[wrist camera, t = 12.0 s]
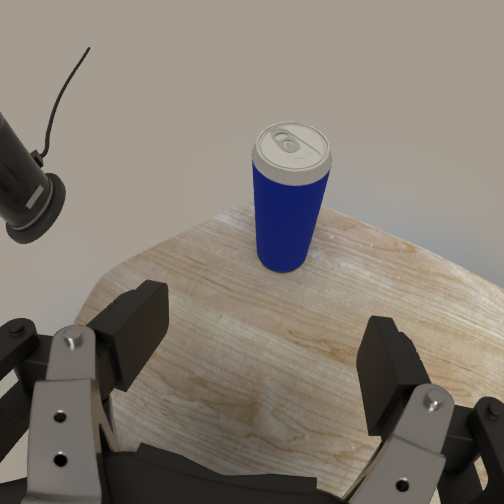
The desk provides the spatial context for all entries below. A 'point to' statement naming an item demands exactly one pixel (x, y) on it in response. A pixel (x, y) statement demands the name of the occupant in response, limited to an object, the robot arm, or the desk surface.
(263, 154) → the beverage can
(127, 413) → the desk surface
